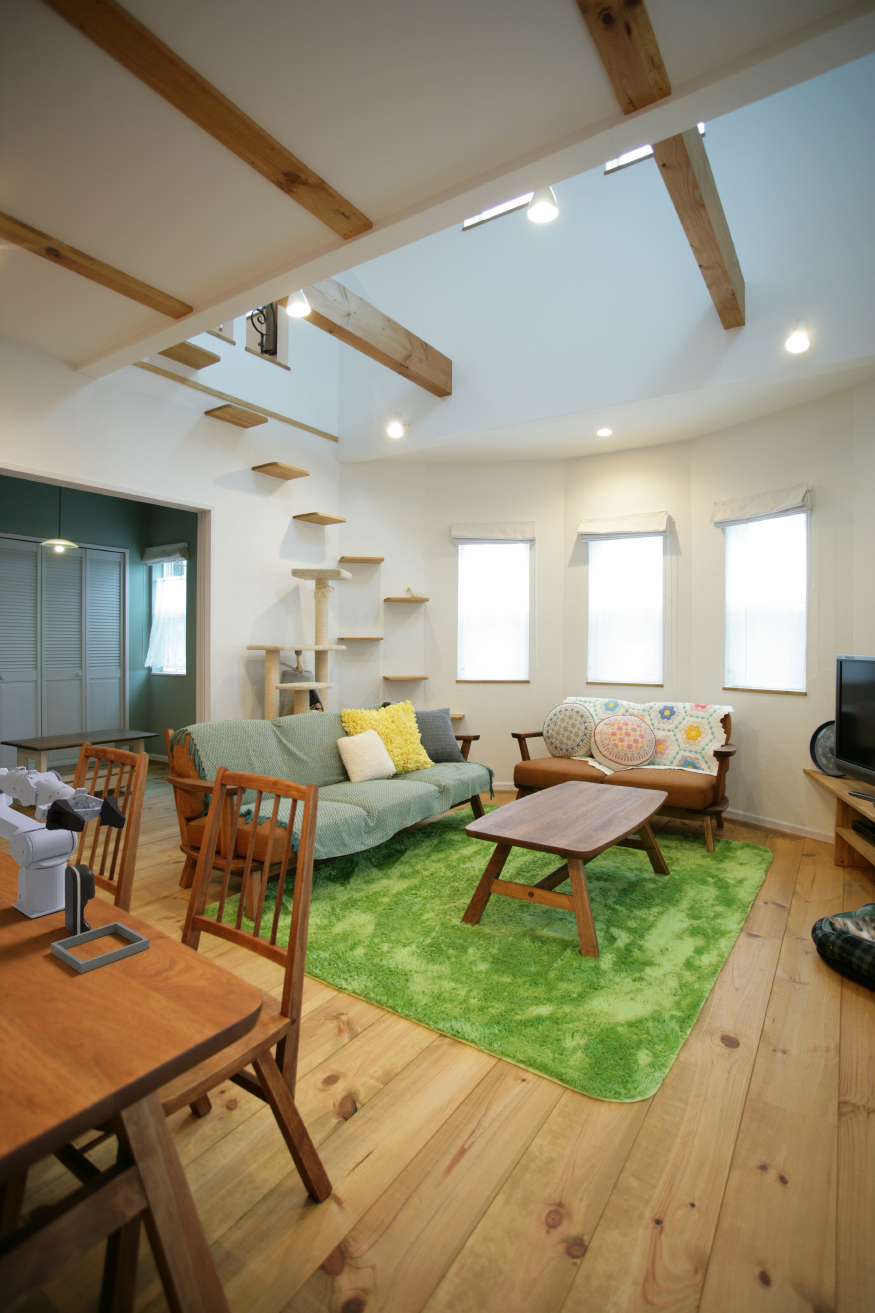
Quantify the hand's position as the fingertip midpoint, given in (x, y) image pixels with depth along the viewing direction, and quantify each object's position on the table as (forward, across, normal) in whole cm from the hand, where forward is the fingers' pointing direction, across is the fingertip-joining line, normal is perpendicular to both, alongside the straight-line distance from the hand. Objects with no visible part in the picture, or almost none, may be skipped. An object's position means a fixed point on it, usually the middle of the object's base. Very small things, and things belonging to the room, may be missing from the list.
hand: (103, 824), depth 117 cm
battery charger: (-2, +2, +20) cm, 21 cm away
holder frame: (+9, -1, +19) cm, 21 cm away
